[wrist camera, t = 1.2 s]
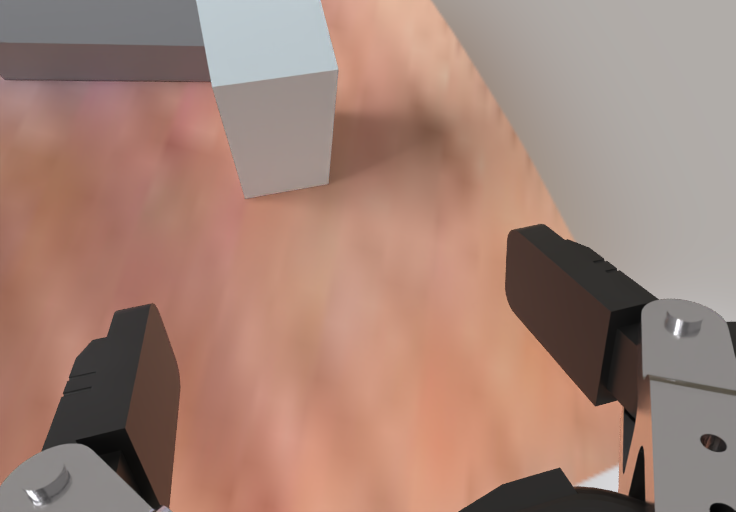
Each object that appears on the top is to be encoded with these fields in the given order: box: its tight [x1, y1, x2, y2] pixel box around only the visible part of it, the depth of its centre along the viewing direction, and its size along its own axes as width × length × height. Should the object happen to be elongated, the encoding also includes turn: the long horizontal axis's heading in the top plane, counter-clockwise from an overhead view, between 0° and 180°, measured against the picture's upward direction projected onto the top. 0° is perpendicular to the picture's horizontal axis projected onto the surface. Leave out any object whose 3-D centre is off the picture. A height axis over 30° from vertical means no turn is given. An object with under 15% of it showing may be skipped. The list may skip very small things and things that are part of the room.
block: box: [196, 0, 338, 199], centre depth 24 cm, size 4×4×10 cm
